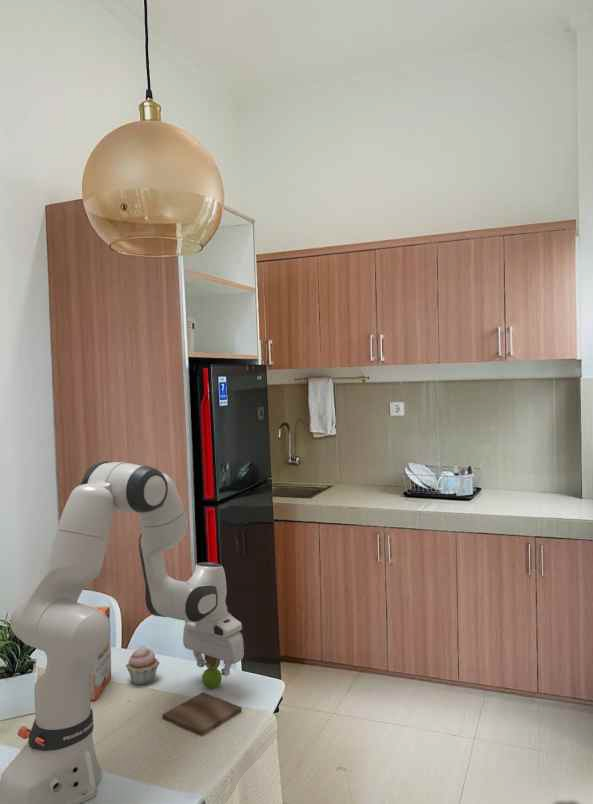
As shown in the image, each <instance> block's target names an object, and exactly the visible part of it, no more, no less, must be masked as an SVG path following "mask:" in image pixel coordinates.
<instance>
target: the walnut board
mask: <svg viewBox="0 0 593 804" xmlns="http://www.w3.org/2000/svg"><path fill="white" fill-rule="evenodd" d="M240 713H242V706H239V705H237V704H234V703H233V702H232V703H231V702H229V701H227V700H224V699H221V698H220V697H216V696H213V695H211V694H209V693H206V692H204V691H202V692H201V693H198V694H196V695H195V696H193V697H191V698H189V699H187V700H186V701H184V702H182V703H180V704H179V705H176V706H175V707H173V708H171V709H169V710H167V711H166V712H164V713H162V720H164V721H165V722H168V723H171V724H173V725H174V726H176V727H178V728H181V729H184V730H186V731H189V732H190V733H193V734H195V735H197V736H200V737H203V736H204V735H207V734H208V733H210V732H212V731H213V730H215V729H216V728H218V727H219V726H221V725H222V724H224V723H226V722H228V721H229V720H230V719H232V718H234V717H235V716H237V715H238V714H240ZM206 733H207V734H206Z"/></svg>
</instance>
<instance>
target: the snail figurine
mask: <svg viewBox="0 0 593 804" xmlns="http://www.w3.org/2000/svg"><path fill="white" fill-rule="evenodd" d="M203 655H204V656H203V657H204V658H203V659H205V667H206V669H205V670H204V671H203V673H202V675H201V681H202V684H203V686H204V687H205V688H206V689H209V690H213V689H216V688H218V687H220V684H221V683H222V680H223V675H222V674H221V673H222V672H221V671H220V670H219V669H218V668H219V667H220V664H221V660H220V659H217V658H214V657H211V656H208V655H205V654H203Z"/></svg>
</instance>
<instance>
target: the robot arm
mask: <svg viewBox="0 0 593 804" xmlns="http://www.w3.org/2000/svg"><path fill="white" fill-rule="evenodd" d="M181 499H182V498H181V496H180V494H179V491H178V489H177V487H176V485H175V483H174V481H173V479H172V478H171V477H170V476H169V475H167V473H164V472H161V471H160V470H158V469H156V468H155V467H153V466H149V465H140V464H135V463H131V462H127V461H125V462H123V461H114V462H112V461H101V462H98V463H95V464H93V465H90V467H88V469H87V471H86V472H85V473H84V475H83V477H82V479H81V483H80V485H78V486H76V487H75V488H73V490H72V491H71V492H70V495H69V497H68V499H67V502H66V503H65V506H64V507H63V510H62V513H61V516H60V519H59V521H58V525H57V530H56V532H55V536H54V540H53V544H52V546H51V551H50V554H49V557H48V561H47V563H46V566H45V569H44V571H43V572H42V574H41V576H40V578H39V580H38V582H37V584H36V585H35V586H34V587H33V588H32V590H31V592H30V593H29V594H27V595H26V596H25V597H24V598H22V599H21V600H20V601H18V603H17V604H16V605H15V607H14V608H13V611H12V613H11V615H10V628H11V632H13V634H14V635H15V636H16V637H17V639H19V640H20V641H22V642H23V643H24V644H25V645H27V646H29V647H32V648H33V649H37V650H39V651H42V652H44V654H45V656H46V668H45V671H44V673H42V675H41V676H39V677H38V678H37V680H36V682H35V683H34V689H33V690H34V691H33V693H34V695H33V696H34V715H35V716H34V717H35V718H34V721H33V723H32V725H31V726H32V727H31V729H30V728H28V727H27V726H25V725H23V726H20V728H18V730H17V733H16V734H17V736H18V737H20V738H21V739H23V740H27V739H28V740H27V743H26V744H25V745H24V746H23V748H22V749H21V750H20V751H19V752H18V754H16V756H15V757H14V759H12V761H11V762H10V763H8V765H7V766H6V768H5V769H4V770H3V771H2V773H1V775H0V804H81V803H84V802H86V801H88V800H90V799H92V798H94V797H95V796H96V794H97V785H98V784H99V782H100V781H101V779H102V778H101V777H102V770H101V768H100V764H99V762H98V758H97V754H96V749H95V743H94V736H93V732H94V726H95V725H94V715H93V713H94V712H93V709H92V708H91V700H90V675H91V670H92V666H93V663H94V661H95V659H96V658H97V657H98V656H99V655H100V654H101V653H102V652H103V651H104V650H105V648H106V646H107V644H108V642H109V639H110V640H111V631H112V629H111V622H110V623H109V621H108V619H107V618H106V617H105V616H104V615H103V614H101V613H100V612H98V611H97V610H95V609H94V608H92V607H93V606H90V605H87V604H83V603H80V602H78V600H79V598H80V596H81V594H82V592H83V591H84V589H85V587H86V586H87V585H88V584H89V583H91V582H93V581H94V580H95V579H97V577H99V575H100V574H101V571H102V567H103V563H104V559H105V555H106V551H107V547H108V542H109V539H110V534H111V529H112V522H113V519H114V516H115V514H116V513H117V512H118V511H120V512H133V513H135V512H136V513H137V515H138V519H139V522H140V524H141V525H140V526H141V530H142V531H141V534H140V536H139V539H138V550H139V551H138V552H139V557H140V562H141V568H142V574H143V579H144V588H145V594H144V596H145V600H144V601H145V606H146V608H147V609H148V611H149V613H150V614H151V615H152V616H154V617H163V618H169V619H174V620H179V621H183V622H184V626H183V635H182V644H183V646H184V648H185V649H187V650H190V651H192V652H193V656H194V659H195V660H196V666H197V667H198V668H203V667H206V665H205V662H206V661H205V658H203V657H204V656H203V655H208V656H211V657H214V658H217V659H220V661H223V665H224V667H223V668H221V671H220V672H221V675H222V676H223V677H228V676H230V674H231V672H230V671H231V669H230V668H231V667H232V665H235V664H237V663H239V662H241V661H242V660H243V659H244V655H245V654H244V652H245V650H244V649H245V647H244V639H243V635H242V633H241V630H242V629H243V626H242V622H241V621H239V620H238V619H236V618H235V616H233V615H232V614H231V613H230V612H228V606H227V604H226V603H227V602H226V600H227V594H228V593H227V592H228V591H227V578H226V572H225V569H224V567H223V565H221V564H220V563H217V562H212V561H207V562H206V561H201V562H198V563H196V564H195V567H194V572H193V573H192V576H191V577H190V578H188V580H186V581H183V580H177V579H174V578H172V577H171V576H169V575H168V573H167V569H166V564H165V563H166V562H165V558H164V552H166V551H168V550H171V549H172V548H174V547H176V546H177V545H178V544H180V543H181V541H182V540H183V539H184V538H185V536H186V534H187V531H188V527H189V526H188V524H189V523H188V517H187V515H186V511H185V508H184V504H183V502H182V500H181ZM202 654H203V655H202Z"/></svg>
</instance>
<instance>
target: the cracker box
mask: <svg viewBox="0 0 593 804" xmlns="http://www.w3.org/2000/svg"><path fill="white" fill-rule="evenodd" d="M91 607H92V608H94V609H95V610H97V611H98V612H100V613H101V614H103V615H104V616H105V617H106V618H107V619H108V621H109V623H110V624H111V615H110V614H111V611H110V610H111V609H110V606H107V605H105V606H91ZM111 648H112V647H111V638H110V639H109V642H108V644H107V646H106V648H105V650H104V651H103V652H102V653H101V654H100V655H99V656H98V657H97V658H96V659H95V661H94V663H93V666H92V670H91V675H90V701H97V700H98V698H99V696H100V695H101V693H102V692H103V691H104V689H105V687H106V686H107V685H108V683H109V682H110V681H111V679H112V650H111Z"/></svg>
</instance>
